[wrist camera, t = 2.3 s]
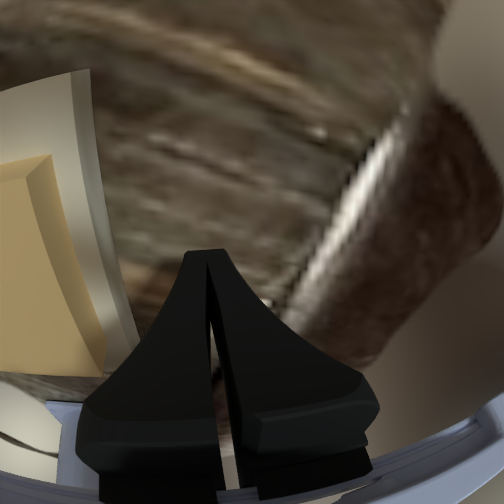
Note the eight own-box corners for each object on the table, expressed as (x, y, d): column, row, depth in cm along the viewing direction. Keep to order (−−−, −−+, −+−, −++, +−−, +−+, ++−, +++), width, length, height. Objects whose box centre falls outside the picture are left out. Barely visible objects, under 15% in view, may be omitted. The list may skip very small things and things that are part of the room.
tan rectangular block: (107, 342, 14) (102, 377, 12) (9, 340, 13) (-2, 370, 11) (51, 153, 8) (25, 177, 7) (-63, 182, 7) (-91, 206, 6)
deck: (140, 342, 17) (139, 371, 15) (24, 342, 16) (15, 367, 14) (89, 68, 9) (70, 72, 7) (-61, 116, 7) (-88, 130, 6)
